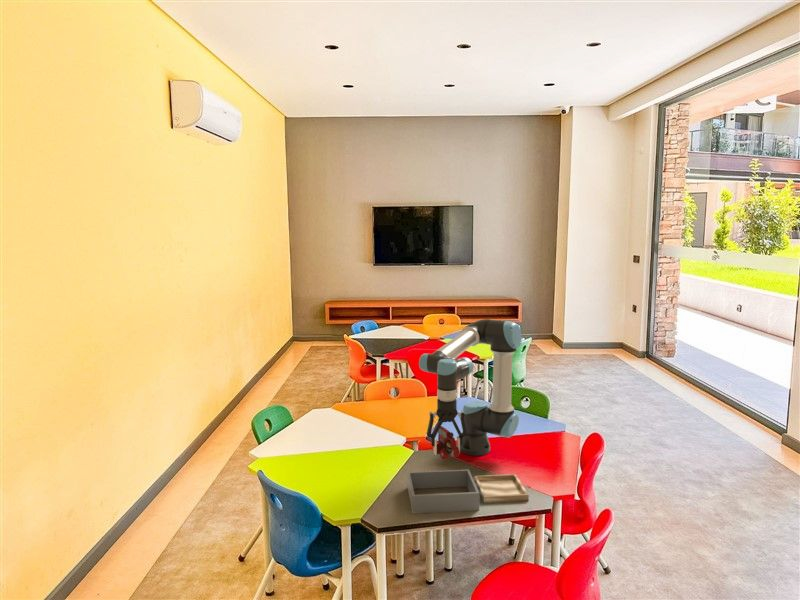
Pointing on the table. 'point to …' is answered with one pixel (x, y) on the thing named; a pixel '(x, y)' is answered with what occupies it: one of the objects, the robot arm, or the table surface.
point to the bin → (445, 500)
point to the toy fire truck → (446, 444)
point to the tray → (500, 488)
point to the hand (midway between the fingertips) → (446, 453)
